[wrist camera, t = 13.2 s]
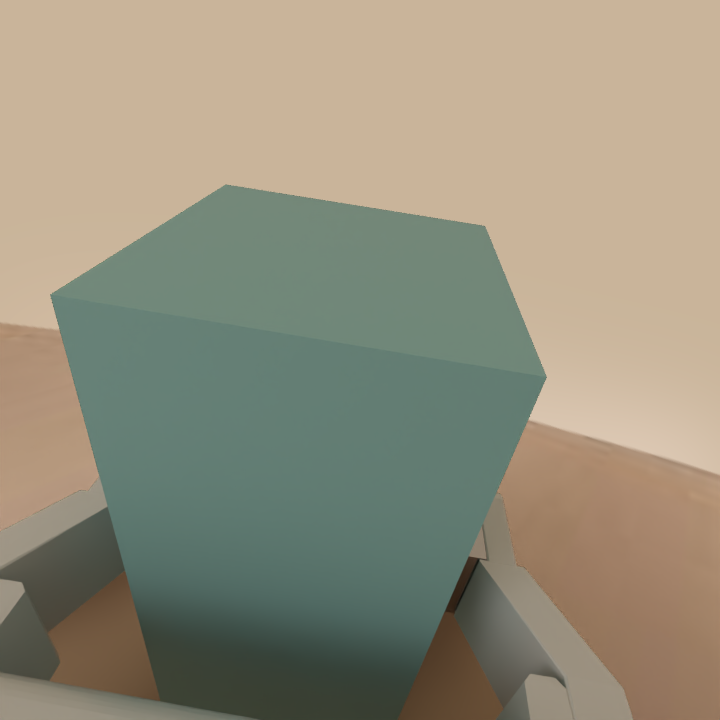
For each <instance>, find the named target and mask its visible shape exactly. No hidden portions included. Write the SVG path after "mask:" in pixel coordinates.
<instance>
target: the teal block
mask: <svg viewBox="0 0 720 720" xmlns="http://www.w3.org/2000/svg"><path fill="white" fill-rule="evenodd" d="M51 299H52V303H53V307H54V310H55V314H56V318H57V321H58V325H59V329H60V333H61V336H62V340H63V344H64V347H65V351H66V355H67V358H68V362H69V366H70V369H71V373H72V377H73V380H74V384H75V388H76V391H77V395H78V399H79V403H80V406H81V410H82V414H83V417H84V421H85V425H86V428H87V432H88V436H89V439H90V443H91V447H92V450H93V454H94V458H95V462H96V465H97V469H98V473H99V476H100V480H101V484H102V487H103V491H104V495H105V498H106V502H107V506H108V509H109V513H110V517H111V521H112V524H113V528H114V532H115V535H116V539H117V543H118V546H119V550H120V554H121V557H122V561H123V565H124V568H125V572H126V576H127V579H128V583H129V587H130V591H131V594H132V598H133V602H134V605H135V609H136V613H137V616H138V620H139V624H140V627H141V631H142V635H143V638H144V642H145V646H146V650H147V653H148V657H149V661H150V664H151V668H152V672H153V675H154V679H155V683H156V686H157V690H158V694H159V697H160V701H162V702H167V703H173V704H178V705H184V706H189V707H194V708H200V709H205V710H211V711H216V712H222V713H227V714H233V715H238V716H244V717H249V718H254V719H260V720H398V717H399V715H400V713H401V711H402V708H403V706H404V704H405V701H406V699H407V697H408V694H409V692H410V690H411V688H412V685H413V683H414V681H415V678H416V676H417V674H418V672H419V669H420V667H421V665H422V662H423V660H424V658H425V655H426V653H427V651H428V649H429V646H430V644H431V642H432V639H433V637H434V635H435V632H436V630H437V628H438V626H439V623H440V621H441V619H442V616H443V614H444V612H445V610H446V607H447V605H448V603H449V600H450V598H451V596H452V593H453V591H454V589H455V587H456V584H457V582H458V580H459V577H460V575H461V573H462V570H463V568H464V566H465V564H466V561H467V559H468V557H469V554H470V552H471V550H472V547H473V545H474V543H475V541H476V538H477V536H478V534H479V531H480V529H481V527H482V525H483V522H484V520H485V518H486V515H487V513H488V511H489V508H490V506H491V504H492V502H493V499H494V497H495V495H496V492H497V490H498V488H499V485H500V483H501V481H502V479H503V476H504V474H505V472H506V469H507V467H508V465H509V462H510V460H511V458H512V456H513V453H514V451H515V449H516V446H517V444H518V442H519V440H520V437H521V435H522V433H523V430H524V428H525V426H526V423H527V421H528V419H529V417H530V414H531V412H532V410H533V407H534V405H535V403H536V400H537V398H538V396H539V393H540V391H541V389H542V387H543V384H544V382H545V380H546V378H547V377H546V374H545V372H544V369H543V367H542V364H541V362H540V359H539V357H538V355H537V352H536V350H535V347H534V345H533V342H532V340H531V338H530V335H529V333H528V330H527V328H526V325H525V323H524V320H523V318H522V315H521V313H520V311H519V308H518V306H517V303H516V301H515V298H514V296H513V293H512V291H511V289H510V286H509V284H508V281H507V279H506V276H505V274H504V271H503V269H502V267H501V264H500V262H499V259H498V257H497V254H496V252H495V249H494V247H493V244H492V242H491V239H490V237H489V235H488V232H487V230H486V227H485V226H482V225H475V224H469V223H463V222H457V221H450V220H444V219H438V218H431V217H425V216H419V215H413V214H406V213H400V212H394V211H388V210H382V209H375V208H369V207H363V206H356V205H350V204H344V203H337V202H331V201H325V200H319V199H313V198H306V197H300V196H294V195H287V194H281V193H275V192H268V191H263V190H256V189H250V188H244V187H238V186H231V185H224V186H223V187H221V188H220V189H218V190H217V191H215V192H213V193H212V194H210V195H208V196H207V197H205V198H204V199H202V200H200V201H199V202H198V203H196V204H194V205H192V206H191V207H189V208H188V209H186V210H185V211H183V212H181V213H180V214H178V215H176V216H175V217H173V218H172V219H170V220H169V221H167V222H165V223H164V224H162V225H160V226H159V227H158V228H156V229H154V230H153V231H151V232H150V233H148V234H146V235H145V236H143V237H141V238H140V239H138V240H137V241H135V242H133V243H132V244H130V245H129V246H127V247H126V248H124V249H122V250H121V251H119V252H117V253H116V254H114V255H113V256H111V257H110V258H108V259H106V260H105V261H103V262H102V263H100V264H98V265H97V266H95V267H93V268H92V269H90V270H89V271H87V272H86V273H84V274H82V275H81V276H80V277H78V278H76V279H74V280H73V281H71V282H70V283H68V284H66V285H65V286H63V287H62V288H60V289H58V290H57V291H55V292H54V293H52V294H51Z"/></svg>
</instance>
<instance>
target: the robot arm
mask: <svg viewBox="0 0 720 720" xmlns="http://www.w3.org/2000/svg"><path fill="white" fill-rule="evenodd" d="M124 571H125V568H124V565H123V561H122V557H121V554H120V550H119V546H118V543H117V539H116V535H115V532H114V528H113V524H112V521H111V517H110V513H109V509H108V506H107V502H106V498H105V495H104V491H103V487H102V484H101V480H100V476H99V477H98V479H97V480H96V481H95V483H94V484H93V485H92V486H91V488H90V489H89V490H88V491H85V490H79V491H77V492H75V493H73V494H72V495H70V496H68V497H66V498H64V499H62V500H60V501H58V502H56V503H54V504H52V505H50V506H48V507H46V508H45V509H43V510H41V511H39V512H37V513H35V514H33V515H31V516H29V517H27V518H25V519H23V520H21V521H19V522H17V523H16V524H14V525H12V526H10V527H8V528H6V529H4V530H2V531H0V720H260V719H254V718H249V717H244V716H238V715H233V714H227V713H222V712H216V711H211V710H205V709H200V708H194V707H189V706H184V705H178V704H173V703H167V702H162V701H156V700H151V699H145V698H140V697H134V696H129V695H123V694H118V693H113V692H107V691H102V690H96V689H91V688H85V687H80V686H74V685H69V684H63V683H58V682H52V681H50V679H51V678H52V676H53V674H54V672H55V671H56V669H57V667H58V666H59V664H60V659H59V654H58V652H57V650H56V648H55V646H54V644H53V642H52V640H51V638H50V636H49V634H48V632H49V631H50V630H51V629H53V628H54V627H55V626H56V625H58V624H59V623H60V622H61V621H63V620H64V619H65V618H66V617H68V616H69V615H70V614H71V613H73V612H74V611H75V610H76V609H78V608H79V607H80V606H81V605H83V604H84V603H85V602H86V601H88V600H89V599H90V598H91V597H93V596H94V595H95V594H96V593H98V592H99V591H100V590H101V589H103V588H104V587H105V586H106V585H108V584H109V583H110V582H111V581H113V580H114V579H115V578H116V577H118V576H119V575H120V574H121V573H123V572H124ZM445 612H450V613H455V614H454V617H455V619H456V621H457V623H458V625H459V626H460V628H461V630H462V632H463V634H464V636H465V638H466V640H467V641H468V643H469V645H470V647H471V649H472V651H473V653H474V655H475V656H476V658H477V660H478V662H479V664H480V666H481V668H482V670H483V671H484V673H485V675H486V677H487V679H488V681H489V683H490V685H491V686H492V688H493V690H494V692H495V694H496V696H497V698H498V700H499V701H500V703H501V705H502V707H503V710H502V712H501V713H500V714H499V716H498V717H497V718H496V720H633V717H632V714H631V710H630V707H629V704H628V701H627V698H626V695H625V692H624V689H623V687H622V686H621V685H620V684H619V683H618V681H617V680H616V679H615V678H614V676H613V675H612V674H611V673H610V672H609V670H608V669H607V668H606V667H605V665H604V664H603V663H602V662H601V661H600V659H599V658H598V657H597V656H596V654H595V653H594V652H593V651H592V650H591V648H590V647H589V646H588V645H587V643H586V642H585V641H584V640H583V639H582V637H581V636H580V635H579V634H578V632H577V631H576V630H575V629H574V628H573V626H572V625H571V624H570V623H569V621H568V620H567V619H566V618H565V617H564V615H563V614H562V613H561V612H560V610H559V609H558V608H557V607H556V606H555V604H554V603H553V602H552V601H551V599H550V598H549V597H548V596H547V595H546V593H545V592H544V591H543V590H542V588H541V587H540V586H539V585H538V584H537V582H536V581H535V580H534V579H533V577H532V576H531V575H530V574H529V573H528V571H527V570H526V569H525V568H524V567H520V566H517V565H516V560H515V555H514V550H513V545H512V540H511V535H510V530H509V525H508V520H507V515H506V510H505V505H504V500H503V497H502V496H501V494H500V493H496V495H495V497H494V499H493V502H492V504H491V506H490V508H489V511H488V513H487V515H486V518H485V520H484V522H483V525H482V527H481V529H480V531H479V534H478V536H477V538H476V541H475V543H474V545H473V547H472V550H471V552H470V554H469V557H468V559H467V561H466V564H465V566H464V568H463V570H462V573H461V575H460V577H459V580H458V582H457V584H456V587H455V589H454V591H453V593H452V596H451V598H450V600H449V603H448V605H447V607H446V610H445Z"/></svg>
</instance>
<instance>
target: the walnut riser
mask: <svg viewBox="0 0 720 720" xmlns="http://www.w3.org/2000/svg"><path fill="white" fill-rule="evenodd" d="M454 614H455V613H450V612H444V614H443V616H442V619H441V621H440V623H439V626H438V628H437V630H436V632H435V635H434V637H433V639H432V642H431V644H430V646H429V649H428V651H427V653H426V655H425V658H424V660H423V662H422V665H421V667H420V669H419V672H418V674H417V676H416V678H415V681H414V683H413V685H412V688H411V690H410V692H409V694H408V697H407V699H406V701H405V704H404V706H403V708H402V711H401V713H400V715H399V717H398V720H496V718H497V717H498V716H499V714H500V713H501V712H502V710H503V707H502V705H501V703H500V701H499V700H498V698H497V696H496V694H495V692H494V690H493V688H492V686H491V685H490V683H489V681H488V679H487V677H486V675H485V673H484V671H483V670H482V668H481V666H480V664H479V662H478V660H477V658H476V656H475V655H474V653H473V651H472V649H471V647H470V645H469V643H468V641H467V640H466V638H465V636H464V634H463V632H462V630H461V628H460V626H459V625H458V623H457V621H456V619H455V617H454ZM48 634H49V636H50V638H51V640H52V642H53V644H54V646H55V648H56V650H57V652H58V654H59V659H60V664H59V666H58V667H57V669H56V671H55V672H54V674H53V676H52V678H51V679H50V681H52V682H58V683H63V684H69V685H74V686H80V687H85V688H91V689H96V690H102V691H107V692H113V693H118V694H123V695H129V696H134V697H140V698H145V699H151V700H156V701H160V697H159V694H158V690H157V686H156V683H155V679H154V675H153V672H152V668H151V664H150V661H149V657H148V653H147V650H146V646H145V642H144V638H143V635H142V631H141V627H140V624H139V620H138V616H137V613H136V609H135V605H134V602H133V598H132V594H131V591H130V587H129V583H128V579H127V576H126V572H125V571H124V572H123V573H121V574H120V575H119V576H118V577H116V578H115V579H114V580H113V581H111V582H110V583H109V584H108V585H106V586H105V587H104V588H103V589H101V590H100V591H99V592H98V593H96V594H95V595H94V596H93V597H91V598H90V599H89V600H88V601H86V602H85V603H84V604H83V605H81V606H80V607H79V608H78V609H76V610H75V611H74V612H73V613H71V614H70V615H69V616H68V617H66V618H65V619H64V620H63V621H61V622H60V623H59V624H58V625H56V626H55V627H54V628H53V629H51V630H50V631H49V632H48Z"/></svg>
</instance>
